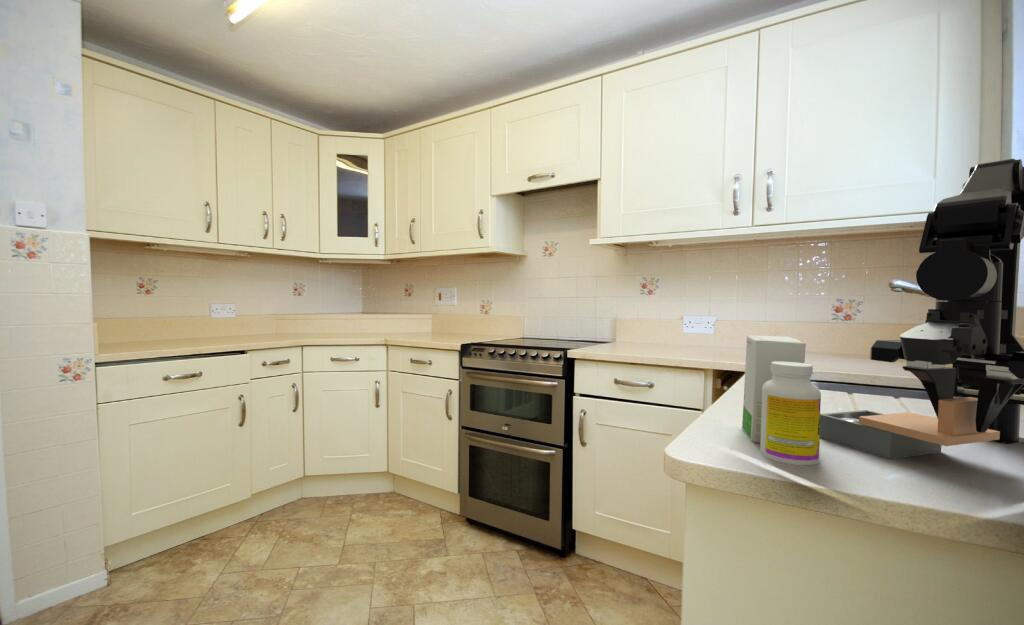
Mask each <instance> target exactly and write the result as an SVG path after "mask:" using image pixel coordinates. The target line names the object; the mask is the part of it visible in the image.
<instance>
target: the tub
mask: <svg viewBox="0 0 1024 625" xmlns="http://www.w3.org/2000/svg"><path fill="white" fill-rule="evenodd" d="M883 414H884V413H881V412H877V411H871V410H867V409H863V410H850V411H839V412H829V413H827V412H826V413H820V438H821V439H824V440H828V441H831V442H832V443H833V442H834V443H837V444H840V445H843V446H846V447H850V448H853V449H856V450H859V451H863V452H865V453H870V454H872V455H875V456H879V457H882V458H884V459H889V460H895V459H900V458H909V457H916V456H922V455H931V454H940V453H942V445H939V444H935V443H931V442H927V441H923V440H919V439H916V438H912V437H908V436H904V435H900V434H896V433H892V432H888V431H885V430H881V429H877V428H873V427H869V426H865V425H861V424H859V423H855V422H851V421H847V420H843V419H841V418H853V419H859V417H860V416H872V415H883Z"/></svg>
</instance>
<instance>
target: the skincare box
mask: <svg viewBox="0 0 1024 625" xmlns="http://www.w3.org/2000/svg"><path fill="white" fill-rule="evenodd" d="M806 347H807V346H806V343H805V342H802V341H800V340H799V339H797V338H793V337H790V336H783V335H782V336H779V335H777V336H775V335H757V334H756V335H754V334H752V335H751V334H748V335H746V348H745V364H744V385H743V386H744V387H743V388H744V389H743V407H742V420H741V421H742V424H741V425H742V426H741V428H742V430H743V432H744V433H745V434H746V436H747V437H748V438H749V440H750V441H751V442H753V443H760V442H761V410H762V386H763V385H764V383H765V382H767V381H769V380H771V379H772V375H773V374H772V373H771V372H772V371H771V362H775V361H784V362H798V363H805V361H806Z"/></svg>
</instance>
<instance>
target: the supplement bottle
mask: <svg viewBox="0 0 1024 625" xmlns="http://www.w3.org/2000/svg"><path fill="white" fill-rule="evenodd" d="M813 370H814V367H813V365H812V364H810V363H805V362H804V363H798V362H784V361H775V362H771V371H772V372H771V373H772V374H773V375H772V379H771V380H769V381H767V382H765V383H764V385H763V386H762V410H761V442H759V443H760V444H759V446H760V450H759V452H760V454H761V455H762V456H763V457H765V458H767V459H770V460H772V461H776V462H779V463H782V464H787V465H788V464H789V465H795V466H796V465H797V466H814V465H817V464H818V463H819V461H820V443H821V441H820V440H821V439H820V414H821V402H822V401H821V398H822V393H821V390H820V389H819V387H818V386H817V385H815V384H813V383H812V382H811V378H812V376H813V372H814V371H813Z"/></svg>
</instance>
